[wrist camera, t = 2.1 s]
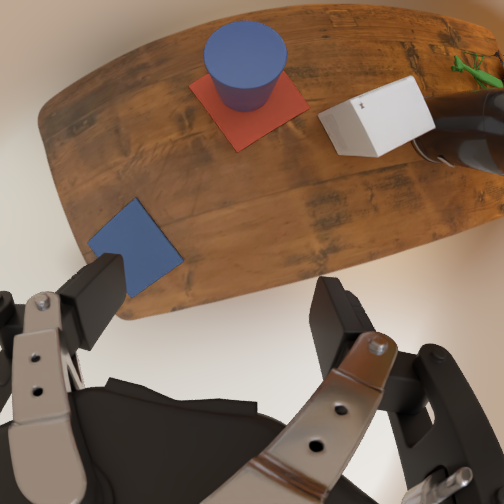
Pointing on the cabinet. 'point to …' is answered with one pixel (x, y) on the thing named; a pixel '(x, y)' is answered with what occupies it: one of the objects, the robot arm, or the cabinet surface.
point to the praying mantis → (477, 72)
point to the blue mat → (137, 247)
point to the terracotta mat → (254, 122)
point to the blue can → (245, 63)
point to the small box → (378, 119)
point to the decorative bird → (499, 57)
